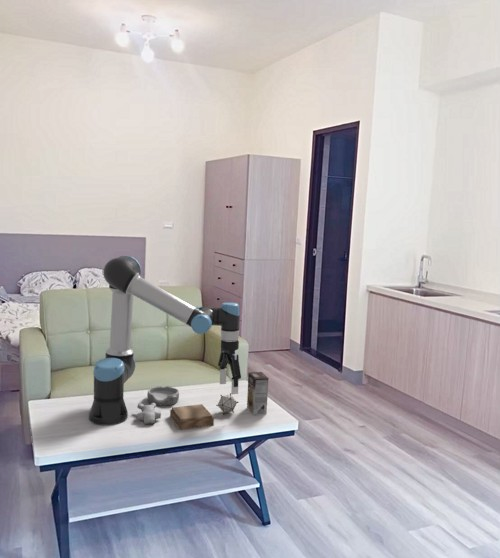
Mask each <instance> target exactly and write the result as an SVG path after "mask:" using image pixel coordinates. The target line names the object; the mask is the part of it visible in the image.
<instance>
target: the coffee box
mask: <svg viewBox="0 0 500 558" xmlns="http://www.w3.org/2000/svg"><path fill="white" fill-rule="evenodd" d="M247 375H248V377H247V378H248V380H247V397H246V399H247V400H246V408H247V409H248V411H249V412H250V413H251V414H252V416H260V415H267V411H268V394H269V393H268V392H269V377H267V375H265V374H264V372H262V371H260V372H259V371H252V372H248V373H247Z"/></svg>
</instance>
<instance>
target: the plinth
mask: <svg viewBox="0 0 500 558" xmlns="http://www.w3.org/2000/svg"><path fill="white" fill-rule="evenodd" d="M169 412H170V414H169V416H170V419H171V420H172V421H173V422H174V424H175V425H176V427H177V428H178V429H179V430H188V429H196V428H205V427H211V426H214V425H215V418H214V416H213V414H212V413H211V412H210V411H209V410H208V409H207V408H206V407H205V406H204V405H203V404H201V403H200V404H194V405H193V404H192V405H185V406H184V405H183V406H176V407H175V406H174V407H171V409H170V410H169Z"/></svg>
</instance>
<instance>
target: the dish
mask: <svg viewBox="0 0 500 558" xmlns="http://www.w3.org/2000/svg"><path fill="white" fill-rule="evenodd" d="M146 398H147V401H148V403H150V404H151V403H155V404H156V406H172V405H174V404H177V403H178V402H179V399H180V391H179V389H178V388H176V387H172V386H162V385H161V386H160V385H159V386H155V387H151V388H149V389H148V390H147V397H146Z"/></svg>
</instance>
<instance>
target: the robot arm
mask: <svg viewBox="0 0 500 558" xmlns="http://www.w3.org/2000/svg"><path fill="white" fill-rule="evenodd" d="M102 273H103V278H104V280H105V281H106V283H107V284H108V289H110V291H111V292H112V298H111V299H112V300H111V317H110V331H109V332H110V334H109V339H110V340H109V347H108V348H107V349H106V350H105V358H103V359H99V360H98V361H97V362H95V364H94V366H93V401H92V404H91V408H90V410H89V413H88V420H89V422H91V423H93V424H95V425H98V426H99V425H101V426H109V425H111V426H114V425H117V424H121V423H122V422H125V421H126V420H127V419H128V417H129V415H128V413H129V412H128V409H127V406H126V403H125V399H124V392H125V390H124V389H125V388H124V386H125V385H124V384H125V383H126V382H127V381H128V380H129V379H130V378H131V377H132V376H133V374H134V373H135V369H136V360H135V358H134V350H133V349H132V348H131V341H132V340H131V339H132V325H133V310H134V309H133V308H134V296H135V297H136V298H138V299H139V300H142V301H143V302H145V303H147V304H149V305H151V306H152V307H155V308H156V309H158V310H159V311H162V312H163V313H165V314H167V315H169V316H170V317H172V318H175V319H176V320H178V321H179V322H181V323H183V324H185V325H187V326H189V327H191V329H192V331H193V332H194V333H196V334H198V335H203V334H206V333H207V332H208V331H210V330H211V328H212V326H220V339H221V340H220V354H219V358H218V363H217V366H218V368H219V385H225V384H227V371H228V369H227V368H228V366H227V365H229V368H230V372H231V388H230V389H231V392H230V393H231V395H238V394H239V380H240V379H242V375H241V367H240V363H239V362H240V361H239V360H240V359H239V354H236V351H237V350H239V345H240V344H239V343H240V341H239V340H240V339H239V338H240V332H241V331H240V305H239V303H237V302H223V303H222V304H221V306H220V307H213V306H211V307H210V306H194V305H192V304H190V303H188V302H186V301H184V300H183V299H181V298H179V297H178V296H176V295H174V294H172V293H170V292H168V291H166V290H165V289H164V288H161V287H159V286H157V285H156V284H154V283H152V282H151V281H149V280H147V279H146V278H143V277H142V276H141V274H142V266H141V264H140V262H139V261H138V260H137V258H136V257H132V256H131V255H121V256H120V255H119V256H118V257H115V258H111V259H110V260H109V261H107V262H106V264H105V265H104V268H103V271H102Z"/></svg>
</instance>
